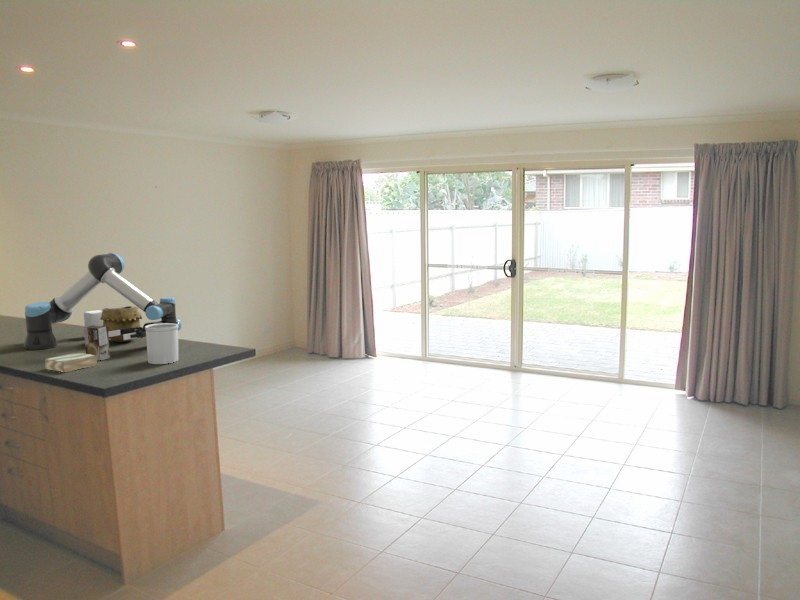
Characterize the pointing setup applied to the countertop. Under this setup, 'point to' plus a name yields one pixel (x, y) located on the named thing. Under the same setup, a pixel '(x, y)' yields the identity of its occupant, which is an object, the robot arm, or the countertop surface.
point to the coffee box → (97, 341)
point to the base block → (71, 362)
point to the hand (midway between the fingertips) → (115, 335)
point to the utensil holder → (162, 343)
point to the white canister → (93, 318)
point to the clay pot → (120, 320)
